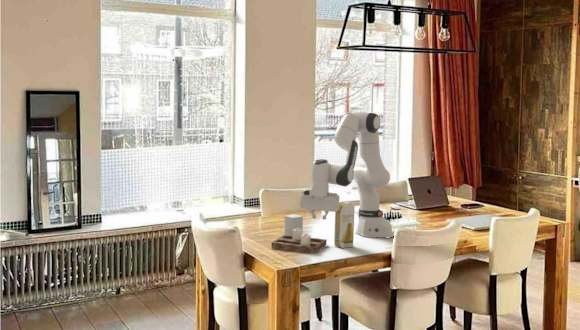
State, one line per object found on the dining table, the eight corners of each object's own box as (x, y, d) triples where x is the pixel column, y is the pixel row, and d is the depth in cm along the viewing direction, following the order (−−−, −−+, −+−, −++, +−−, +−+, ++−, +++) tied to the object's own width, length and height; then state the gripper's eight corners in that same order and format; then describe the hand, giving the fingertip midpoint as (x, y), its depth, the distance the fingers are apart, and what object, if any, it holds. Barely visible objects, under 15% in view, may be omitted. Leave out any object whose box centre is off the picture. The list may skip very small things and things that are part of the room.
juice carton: (341, 249, 334) (343, 203, 331) (332, 245, 340) (333, 201, 337) (355, 246, 339) (356, 202, 336) (345, 243, 346) (346, 199, 342)
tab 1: (301, 241, 343) (302, 228, 342) (299, 242, 340) (299, 229, 339) (294, 240, 345) (294, 227, 344) (292, 241, 341) (292, 228, 340)
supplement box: (302, 238, 354) (303, 216, 352) (292, 240, 349) (292, 217, 347) (294, 236, 359) (294, 213, 358) (284, 237, 355) (284, 215, 353)
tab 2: (310, 246, 332) (310, 233, 331) (307, 248, 329) (308, 234, 328) (302, 246, 333) (303, 232, 332) (300, 247, 330) (300, 234, 329)
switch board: (326, 245, 341) (326, 239, 341) (315, 253, 325) (315, 247, 324) (284, 240, 350) (284, 234, 349) (271, 248, 333) (271, 242, 333)
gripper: (341, 192, 324) (340, 219, 326) (303, 189, 331) (302, 215, 333) (337, 194, 318) (336, 222, 320) (298, 191, 325) (298, 217, 327)
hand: (319, 218), depth 326 cm, fingers open, 4 cm apart
